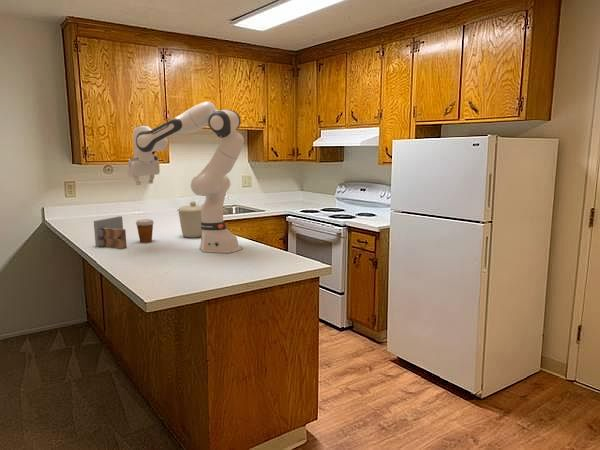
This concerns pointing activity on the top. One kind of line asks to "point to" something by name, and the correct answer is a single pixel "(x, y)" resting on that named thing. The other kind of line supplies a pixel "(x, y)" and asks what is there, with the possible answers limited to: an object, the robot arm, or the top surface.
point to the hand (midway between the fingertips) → (144, 184)
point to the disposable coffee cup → (145, 230)
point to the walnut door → (114, 238)
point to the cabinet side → (105, 223)
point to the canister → (191, 220)
